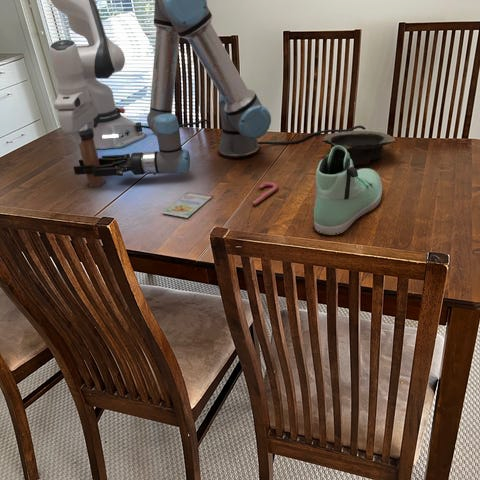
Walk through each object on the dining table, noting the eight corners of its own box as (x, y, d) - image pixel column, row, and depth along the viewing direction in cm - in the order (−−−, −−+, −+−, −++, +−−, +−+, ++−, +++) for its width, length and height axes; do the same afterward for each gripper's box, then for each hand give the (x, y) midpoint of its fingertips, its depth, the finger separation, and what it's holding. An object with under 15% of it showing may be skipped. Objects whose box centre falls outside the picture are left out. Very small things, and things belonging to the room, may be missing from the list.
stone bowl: (352, 176, 156) (352, 149, 152) (308, 158, 177) (307, 134, 172) (409, 157, 165) (411, 131, 161) (361, 143, 185) (362, 119, 181)
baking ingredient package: (162, 212, 143) (188, 192, 155) (162, 213, 144) (188, 193, 155) (187, 216, 140) (211, 196, 151) (187, 218, 140) (212, 197, 151)
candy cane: (239, 202, 147) (239, 198, 146) (265, 183, 157) (265, 179, 156) (255, 207, 144) (255, 202, 143) (281, 187, 154) (281, 183, 153)
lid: (95, 133, 161) (94, 128, 160) (93, 139, 156) (91, 134, 155) (77, 135, 161) (76, 130, 160) (74, 141, 156) (73, 136, 155)
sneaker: (389, 187, 148) (396, 123, 138) (356, 242, 123) (361, 168, 112) (346, 181, 154) (350, 119, 144) (306, 232, 129) (307, 161, 118)
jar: (104, 185, 166) (92, 135, 156) (89, 187, 164) (76, 138, 155) (103, 179, 170) (92, 130, 161) (88, 182, 169) (76, 133, 159)
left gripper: (79, 88, 161) (89, 128, 168) (51, 105, 143) (63, 149, 151) (97, 87, 160) (106, 127, 167) (70, 105, 142) (81, 149, 150)
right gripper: (140, 184, 157) (71, 188, 158) (150, 163, 172) (87, 166, 174) (136, 163, 153) (65, 167, 154) (147, 143, 169) (82, 147, 170)
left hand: (85, 138), depth 159 cm, fingers open, 8 cm apart
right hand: (77, 167), depth 164 cm, fingers closed on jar, 5 cm apart
